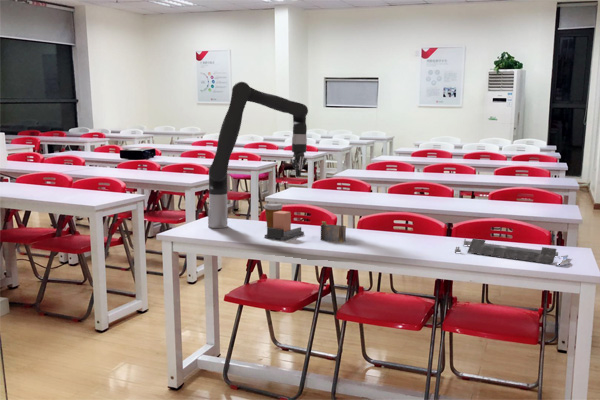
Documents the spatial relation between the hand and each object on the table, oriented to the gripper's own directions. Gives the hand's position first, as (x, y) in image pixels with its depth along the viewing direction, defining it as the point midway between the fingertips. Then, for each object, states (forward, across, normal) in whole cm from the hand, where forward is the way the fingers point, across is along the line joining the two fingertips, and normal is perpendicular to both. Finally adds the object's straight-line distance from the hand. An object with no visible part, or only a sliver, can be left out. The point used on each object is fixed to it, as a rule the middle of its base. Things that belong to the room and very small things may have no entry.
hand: (298, 176), depth 300 cm
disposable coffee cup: (+27, +9, -8) cm, 29 cm away
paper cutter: (+25, +3, +109) cm, 112 cm away
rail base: (+27, +25, +9) cm, 37 cm away
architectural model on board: (+27, +20, +33) cm, 47 cm away
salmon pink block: (+25, +27, +9) cm, 38 cm away
